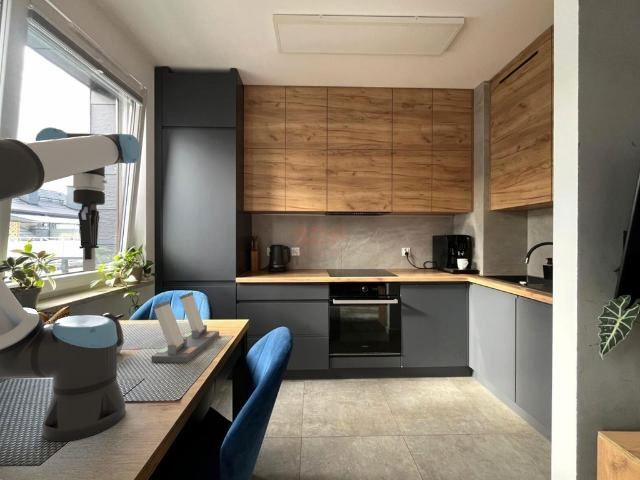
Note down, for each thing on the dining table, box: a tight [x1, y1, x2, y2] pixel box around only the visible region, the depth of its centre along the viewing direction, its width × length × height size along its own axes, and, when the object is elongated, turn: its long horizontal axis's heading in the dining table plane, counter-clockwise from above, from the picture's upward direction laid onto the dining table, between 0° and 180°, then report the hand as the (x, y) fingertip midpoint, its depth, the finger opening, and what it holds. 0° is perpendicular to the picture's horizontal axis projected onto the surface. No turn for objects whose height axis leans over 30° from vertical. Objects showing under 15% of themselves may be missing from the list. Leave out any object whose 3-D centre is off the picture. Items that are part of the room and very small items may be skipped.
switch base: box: [151, 324, 220, 364], centre depth 122 cm, size 12×30×5 cm, turn 177°
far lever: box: [178, 291, 205, 335], centre depth 131 cm, size 3×6×18 cm, turn 177°
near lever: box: [152, 300, 184, 351], centre depth 113 cm, size 3×6×18 cm, turn 177°
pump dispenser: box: [100, 312, 126, 354], centre depth 114 cm, size 10×10×15 cm
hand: (89, 270), depth 93 cm, fingers closed
